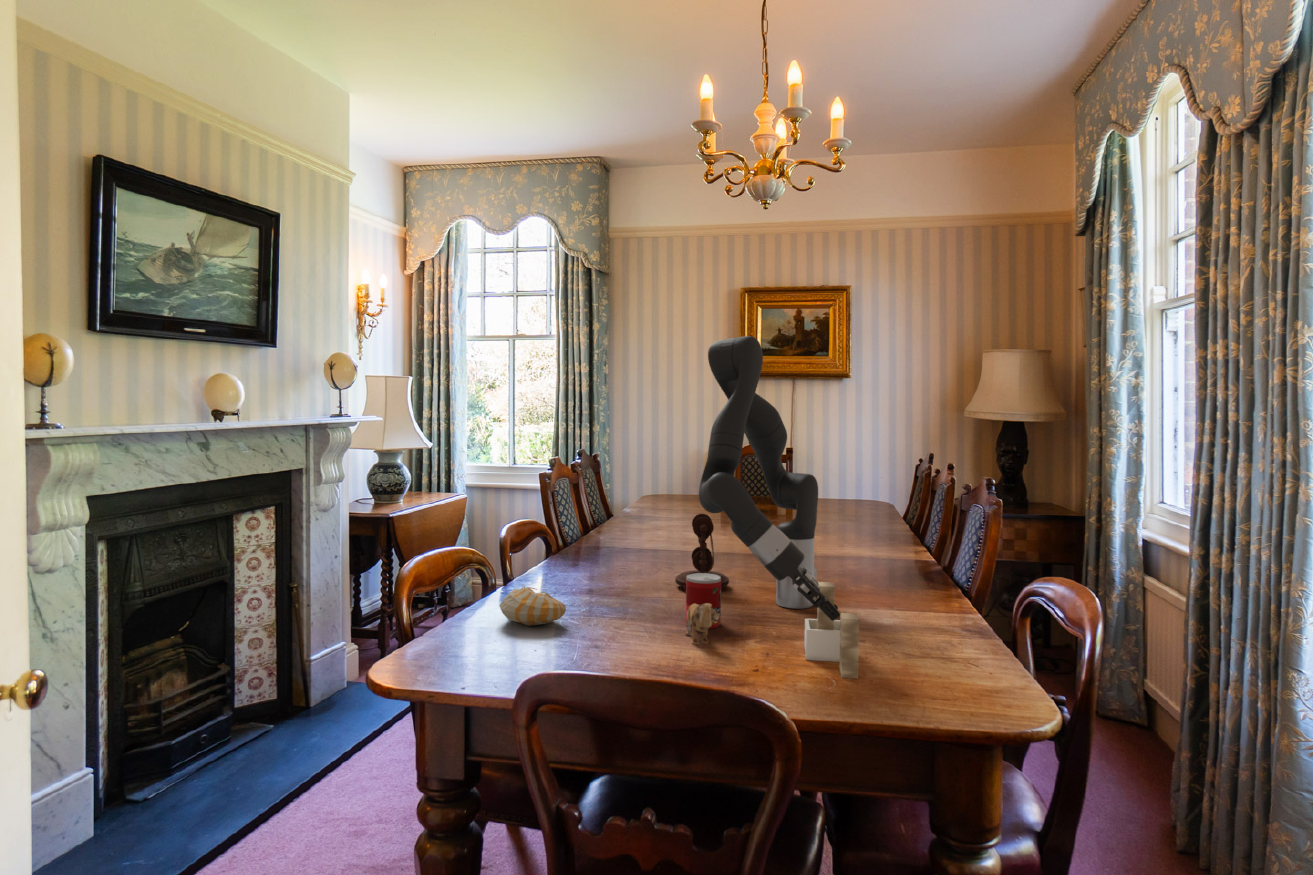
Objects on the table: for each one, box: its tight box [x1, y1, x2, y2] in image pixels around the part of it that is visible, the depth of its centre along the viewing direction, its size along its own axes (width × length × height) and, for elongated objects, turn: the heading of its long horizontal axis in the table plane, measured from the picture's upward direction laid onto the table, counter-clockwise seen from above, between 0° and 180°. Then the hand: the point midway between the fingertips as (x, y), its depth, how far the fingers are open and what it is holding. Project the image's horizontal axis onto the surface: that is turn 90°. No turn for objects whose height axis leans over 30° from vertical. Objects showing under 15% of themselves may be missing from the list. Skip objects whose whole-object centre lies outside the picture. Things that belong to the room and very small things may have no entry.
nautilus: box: [498, 584, 567, 627], centre depth 171 cm, size 8×22×15 cm
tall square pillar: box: [816, 581, 836, 630], centre depth 149 cm, size 3×4×11 cm
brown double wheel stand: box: [674, 513, 730, 592], centre depth 203 cm, size 15×15×20 cm
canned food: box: [685, 573, 722, 630], centre depth 169 cm, size 8×8×11 cm
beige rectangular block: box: [838, 612, 860, 680], centre depth 138 cm, size 3×4×11 cm
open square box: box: [803, 618, 840, 663], centre depth 149 cm, size 8×8×6 cm
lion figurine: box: [684, 603, 720, 646], centre depth 159 cm, size 15×5×9 cm, turn 17°
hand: (835, 614), depth 148 cm, fingers closed on tall square pillar, 4 cm apart
